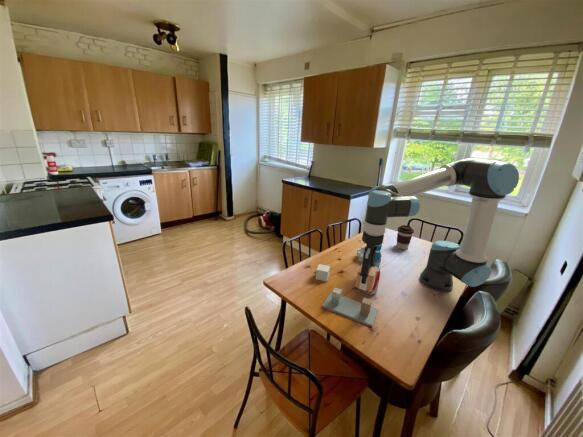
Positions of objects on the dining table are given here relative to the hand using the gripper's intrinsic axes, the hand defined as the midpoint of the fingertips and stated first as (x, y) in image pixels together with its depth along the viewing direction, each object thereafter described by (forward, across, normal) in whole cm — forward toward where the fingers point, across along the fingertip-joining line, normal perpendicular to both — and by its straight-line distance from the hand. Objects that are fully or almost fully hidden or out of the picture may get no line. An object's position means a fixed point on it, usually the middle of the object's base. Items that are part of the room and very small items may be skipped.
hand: (364, 284), depth 100 cm
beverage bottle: (+15, -32, -3) cm, 36 cm away
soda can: (+15, -19, 0) cm, 25 cm away
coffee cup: (+15, -80, +8) cm, 82 cm away
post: (+15, -2, -11) cm, 19 cm away
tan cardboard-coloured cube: (0, 0, 0) cm, 0 cm away
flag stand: (+15, -51, -9) cm, 54 cm away
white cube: (+16, -18, -24) cm, 34 cm away
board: (+15, -2, -5) cm, 16 cm away
